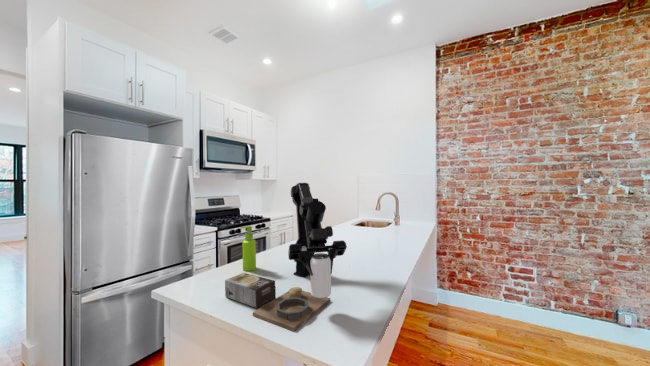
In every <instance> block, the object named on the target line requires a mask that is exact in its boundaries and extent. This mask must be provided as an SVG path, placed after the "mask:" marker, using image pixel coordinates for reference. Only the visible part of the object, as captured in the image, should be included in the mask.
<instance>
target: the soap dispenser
mask: <svg viewBox="0 0 650 366" xmlns="http://www.w3.org/2000/svg"><path fill="white" fill-rule="evenodd" d="M252 228H253V226H252V225H244V226H241V227H239V229H240V230H242V229H246V232H245V234H244V237H245V239H244V240H243V241H242V270H243V271H245V272H253V271H255V270H256V269H257V251H256V249H257V246H256V242H257V241H256V239H254V237H253V236H254V235H253V232H252Z"/></svg>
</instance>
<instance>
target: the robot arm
mask: <svg viewBox="0 0 650 366" xmlns="http://www.w3.org/2000/svg"><path fill="white" fill-rule="evenodd" d="M290 198H291V199H292V201H291V202H292V203H293V205H295V208H296V210H295V211H296V222H297V223H296V224H297V227H296V228H297V239H296V241H295V243H291V244H290V245H288V252H287V253H288V260H290V261H292V260H293V261H294V263H295V272H293V275H295V276H299V277H303V278H306V277H308V276H310V274H311V276H313V273H312V270H311V265H310V261H311V258H312V255H314V254H318V253H327V254H328V255H329V258H330V260H331V275H332V273H333V265H334V259H335V258H337V256H338V257H339V256H343V255H345V252H346V250H347V242H345V240H333V242H332V244H331V245H327V242H328V239H329V238H331V237H333V236H334V230H333V228H332V227H333V226H331V225H330V226H329V225H328V226H326V227H325V228H322V222H323V219H324V217H325V212H326V207H327V206H326V205H325V203H323V202H322V201H320V200H319V198H313V195H312V193H311V187H310V184H309V183H308V182H298V183H296V184H295V185H293V186H292V187H291V189H290Z"/></svg>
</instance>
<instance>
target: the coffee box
mask: <svg viewBox="0 0 650 366" xmlns="http://www.w3.org/2000/svg"><path fill="white" fill-rule="evenodd" d="M224 291H225V293H224V294H225V295H224V297H225V298H228V299H231V300H234V301H236V302H239V303H241V304H244V305H247V306H250V307H253V308H255V309H259V308H261V307H263V306H264V305H266V304H268V303H269V302H271V301H273V300H274V299H276V298H277V297H276V295H277V294H276V291H277V290H276V280H274V279H270V278H266V277H262V276H258V275H255V274H251V273H247V272H243V273H239V274H237V275H235V276H232V277H229V278H226V279H225V280H224Z"/></svg>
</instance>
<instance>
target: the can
mask: <svg viewBox="0 0 650 366" xmlns="http://www.w3.org/2000/svg"><path fill="white" fill-rule="evenodd" d="M310 265H311V270H312V273H313V276H311V274H310V275H309V276H310V278H309V279H310V282H309V283H310V293H311V295H312V296H313V297H315V298H326V297H328V298H329V297H330V296H331V294H332V274H331V260H330V258H329V255H328V253H325V252H318V253H314V255H312V258H311V260H310Z"/></svg>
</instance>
